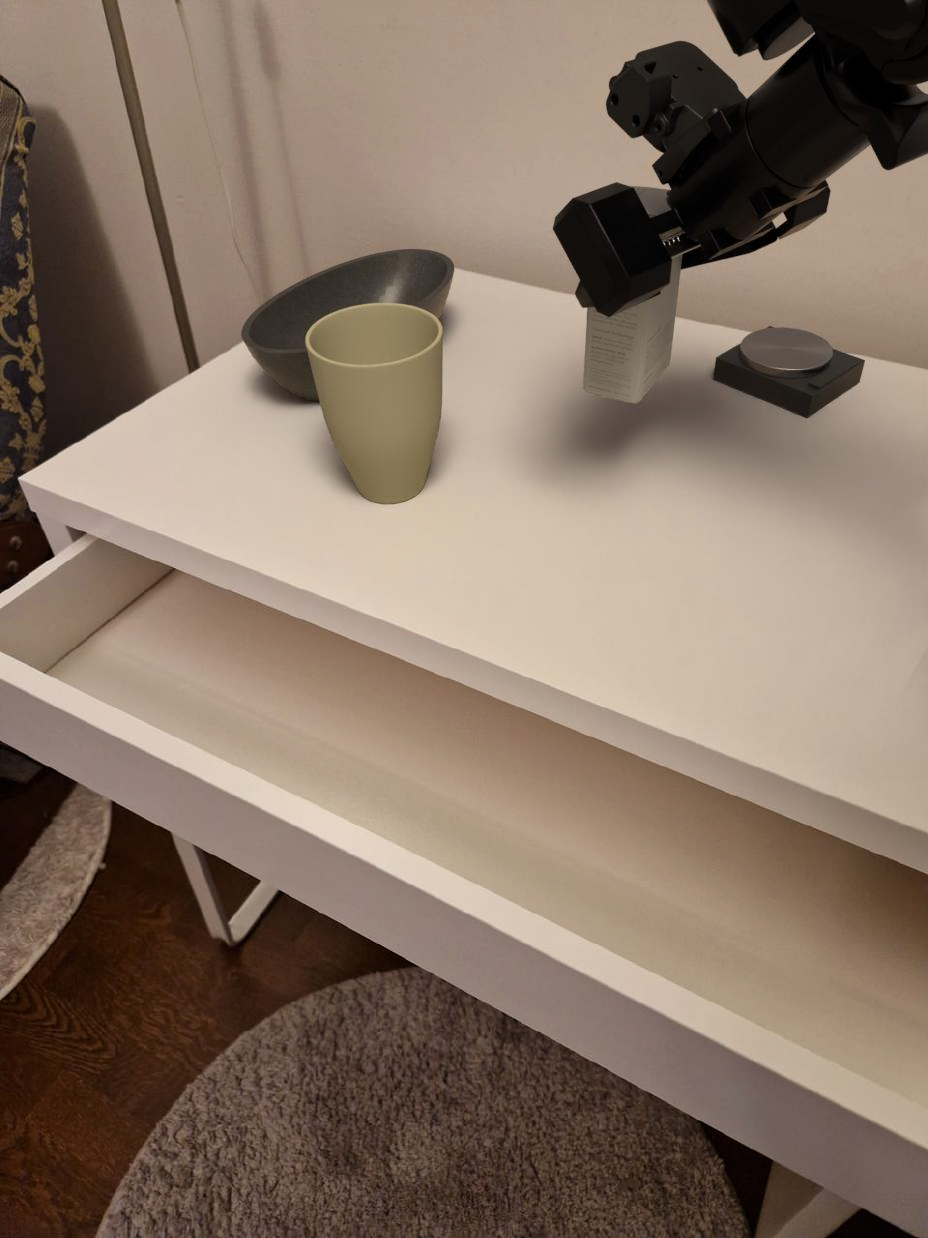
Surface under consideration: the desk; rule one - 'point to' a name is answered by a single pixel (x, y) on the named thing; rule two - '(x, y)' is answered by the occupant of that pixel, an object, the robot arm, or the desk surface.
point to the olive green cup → (380, 393)
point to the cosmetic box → (633, 333)
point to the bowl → (340, 307)
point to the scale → (789, 369)
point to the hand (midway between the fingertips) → (619, 283)
